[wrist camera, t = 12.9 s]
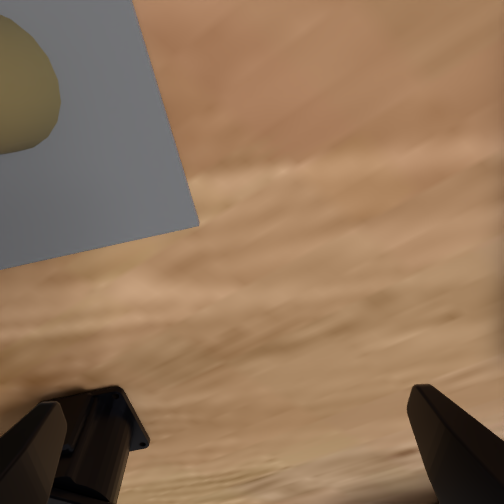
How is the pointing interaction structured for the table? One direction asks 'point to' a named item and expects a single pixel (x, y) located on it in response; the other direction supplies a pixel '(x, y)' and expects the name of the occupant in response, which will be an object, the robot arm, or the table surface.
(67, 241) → the mat
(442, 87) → the table surface
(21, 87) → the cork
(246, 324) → the table surface
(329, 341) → the table surface
